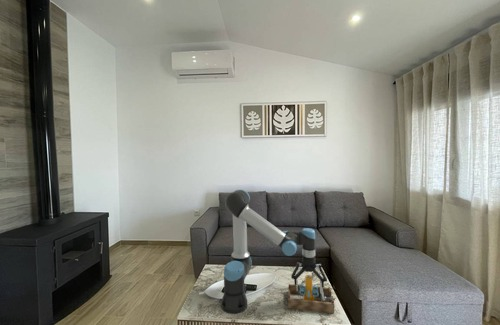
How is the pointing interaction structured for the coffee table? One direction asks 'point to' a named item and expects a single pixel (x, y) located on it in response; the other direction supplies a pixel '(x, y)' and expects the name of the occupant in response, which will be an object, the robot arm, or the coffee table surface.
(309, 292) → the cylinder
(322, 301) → the pusher
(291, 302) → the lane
